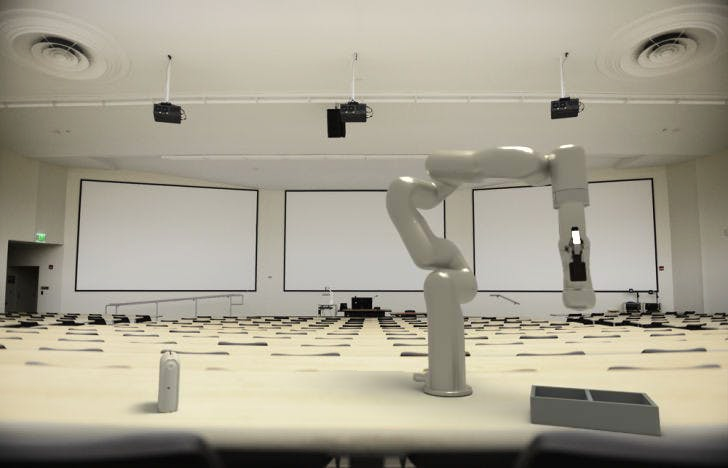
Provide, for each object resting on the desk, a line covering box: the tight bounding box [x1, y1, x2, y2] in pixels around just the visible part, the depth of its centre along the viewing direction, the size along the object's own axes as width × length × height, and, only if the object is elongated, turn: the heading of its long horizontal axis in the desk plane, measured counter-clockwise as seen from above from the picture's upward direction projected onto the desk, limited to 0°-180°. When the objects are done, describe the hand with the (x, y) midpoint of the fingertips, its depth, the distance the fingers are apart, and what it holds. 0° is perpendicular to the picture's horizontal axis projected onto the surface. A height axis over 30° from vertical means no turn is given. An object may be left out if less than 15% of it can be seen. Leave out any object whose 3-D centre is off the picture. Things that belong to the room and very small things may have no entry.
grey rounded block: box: [157, 351, 181, 413], centre depth 105 cm, size 10×4×12 cm, turn 25°
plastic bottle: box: [557, 232, 597, 312], centre depth 101 cm, size 6×7×20 cm
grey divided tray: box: [529, 384, 662, 437], centre depth 93 cm, size 22×12×5 cm, turn 69°
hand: (577, 280), depth 101 cm, fingers closed on plastic bottle, 5 cm apart
